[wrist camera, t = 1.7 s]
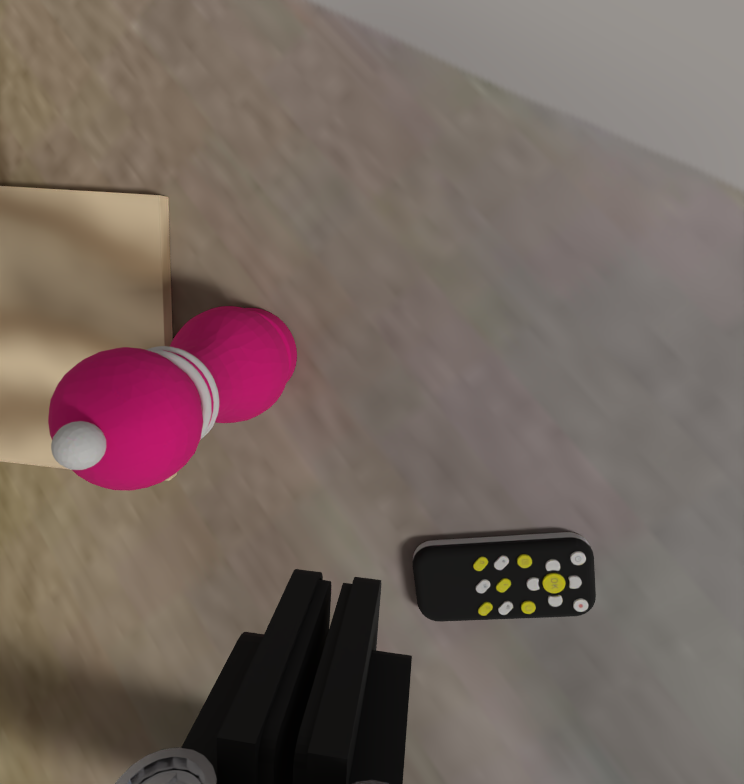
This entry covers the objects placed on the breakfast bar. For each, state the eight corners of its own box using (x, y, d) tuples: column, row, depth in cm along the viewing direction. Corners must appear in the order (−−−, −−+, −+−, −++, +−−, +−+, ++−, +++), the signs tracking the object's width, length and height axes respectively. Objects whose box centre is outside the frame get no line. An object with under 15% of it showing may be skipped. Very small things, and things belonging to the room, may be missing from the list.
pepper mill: (228, 413, 39) (25, 566, 20) (189, 319, 38) (-69, 387, 19) (319, 384, 38) (194, 520, 19) (282, 285, 37) (106, 323, 17)
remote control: (410, 538, 41) (409, 552, 39) (587, 527, 39) (595, 541, 37) (420, 610, 42) (419, 627, 40) (591, 602, 40) (599, 620, 38)
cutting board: (177, 474, 41) (169, 480, 40) (-16, 452, 43) (-28, 457, 42) (168, 197, 36) (159, 195, 35) (-50, 184, 38) (-66, 182, 37)
